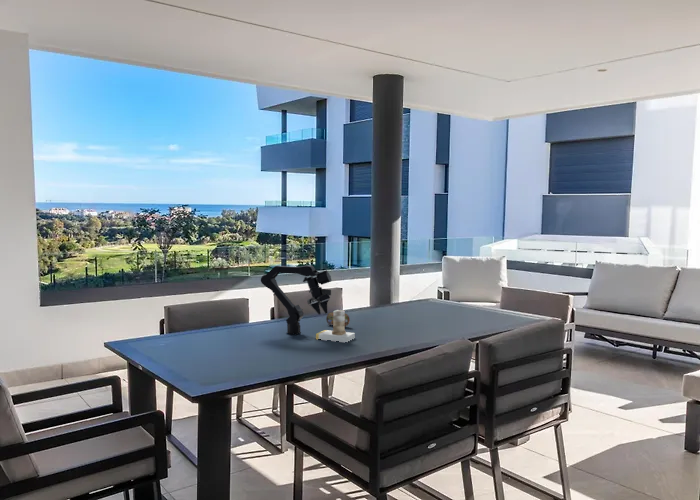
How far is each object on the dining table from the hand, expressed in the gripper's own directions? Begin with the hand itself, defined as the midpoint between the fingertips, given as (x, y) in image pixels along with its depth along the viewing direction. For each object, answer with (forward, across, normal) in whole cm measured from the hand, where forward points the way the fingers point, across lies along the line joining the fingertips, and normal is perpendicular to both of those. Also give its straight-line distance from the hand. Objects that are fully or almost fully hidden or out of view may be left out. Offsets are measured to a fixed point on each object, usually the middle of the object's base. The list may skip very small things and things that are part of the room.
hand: (323, 313), depth 298 cm
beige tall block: (+12, -10, -1) cm, 16 cm away
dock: (+14, -8, +1) cm, 16 cm away
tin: (+12, +22, -16) cm, 30 cm away
